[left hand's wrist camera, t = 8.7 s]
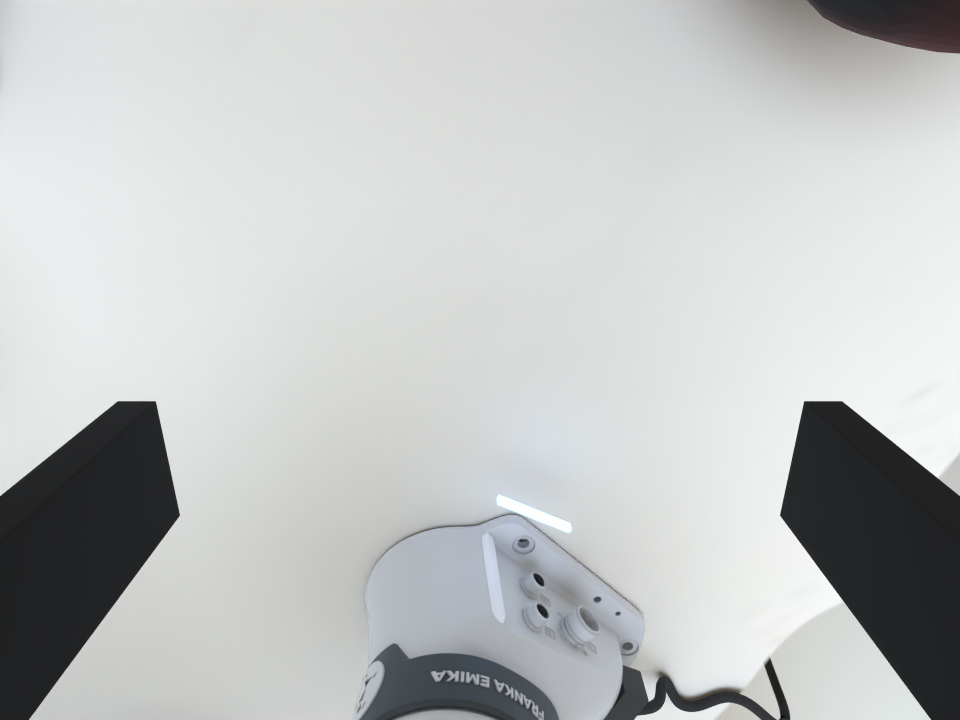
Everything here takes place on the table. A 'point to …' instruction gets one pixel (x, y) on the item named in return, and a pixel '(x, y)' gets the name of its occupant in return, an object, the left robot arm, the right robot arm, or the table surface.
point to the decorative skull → (899, 21)
